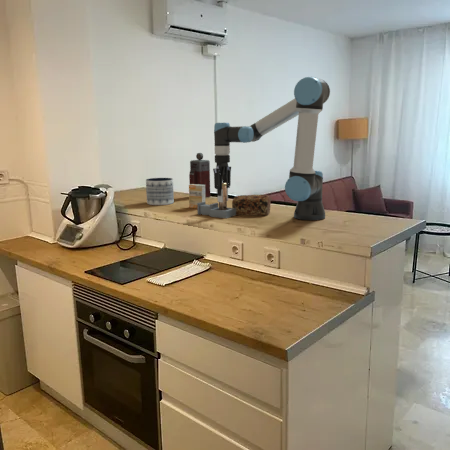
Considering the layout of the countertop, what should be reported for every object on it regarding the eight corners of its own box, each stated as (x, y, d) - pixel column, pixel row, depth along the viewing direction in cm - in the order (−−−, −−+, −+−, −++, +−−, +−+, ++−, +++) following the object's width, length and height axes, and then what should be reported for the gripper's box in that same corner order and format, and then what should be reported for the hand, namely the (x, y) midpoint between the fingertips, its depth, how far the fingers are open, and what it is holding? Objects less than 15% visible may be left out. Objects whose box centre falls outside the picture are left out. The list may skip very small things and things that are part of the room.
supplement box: (188, 208, 259) (188, 184, 257) (192, 206, 264) (192, 183, 261) (202, 209, 256) (201, 185, 254) (206, 207, 261) (205, 184, 258)
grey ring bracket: (205, 211, 247) (205, 201, 246) (236, 215, 237) (236, 203, 236) (195, 215, 239) (195, 203, 238) (226, 218, 230) (226, 206, 228)
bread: (270, 212, 244) (271, 193, 242) (267, 216, 234) (267, 196, 232) (236, 211, 248) (236, 192, 246) (231, 215, 238) (231, 195, 236)
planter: (179, 202, 280) (178, 178, 277) (162, 206, 267) (161, 181, 264) (158, 200, 288) (157, 177, 285) (141, 204, 275) (140, 179, 272)
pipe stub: (221, 213, 239) (221, 182, 235) (228, 214, 237) (228, 182, 233) (217, 214, 235) (216, 183, 232) (224, 215, 233) (223, 183, 230)
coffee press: (188, 197, 298) (186, 153, 292) (200, 195, 306) (199, 152, 300) (198, 198, 292) (196, 153, 286) (210, 196, 300) (209, 152, 295)
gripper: (224, 153, 239) (225, 198, 243) (206, 155, 224) (207, 203, 229) (237, 153, 235) (237, 199, 240) (219, 155, 221) (220, 204, 225)
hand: (222, 201), depth 234 cm, fingers closed on pipe stub, 4 cm apart
